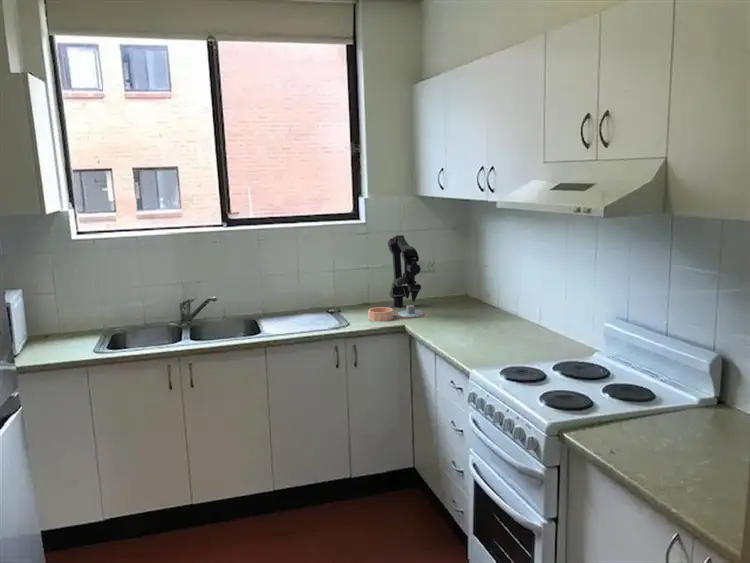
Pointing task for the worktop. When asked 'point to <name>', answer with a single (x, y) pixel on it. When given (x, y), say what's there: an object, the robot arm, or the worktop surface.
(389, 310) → the bowl
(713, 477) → the worktop surface
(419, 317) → the board
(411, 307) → the lid
